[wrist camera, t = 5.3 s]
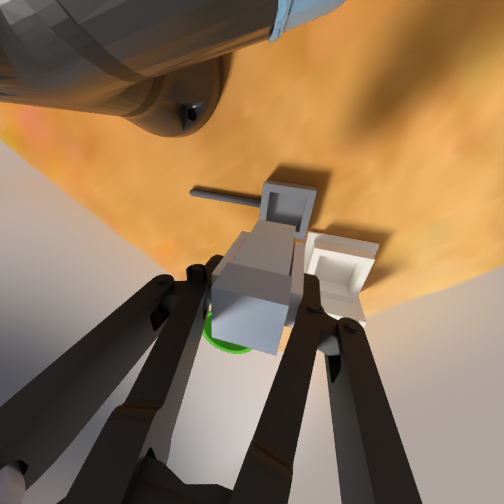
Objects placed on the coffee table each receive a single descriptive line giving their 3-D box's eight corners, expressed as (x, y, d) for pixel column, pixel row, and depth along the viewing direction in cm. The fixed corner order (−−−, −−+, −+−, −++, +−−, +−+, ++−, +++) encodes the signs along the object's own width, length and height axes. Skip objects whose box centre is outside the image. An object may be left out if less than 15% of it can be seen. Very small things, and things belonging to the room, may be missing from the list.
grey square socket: (266, 179, 29) (263, 183, 27) (316, 187, 28) (317, 191, 26) (261, 224, 33) (257, 231, 30) (304, 233, 31) (304, 240, 29)
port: (308, 230, 31) (308, 254, 25) (378, 243, 30) (397, 272, 23) (295, 281, 36) (292, 312, 30) (354, 295, 35) (364, 330, 28)
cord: (191, 188, 33) (188, 189, 32) (264, 200, 31) (262, 202, 30) (191, 194, 33) (188, 196, 32) (263, 206, 31) (262, 208, 30)
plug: (256, 217, 19) (211, 287, 10) (298, 224, 18) (288, 306, 10) (252, 252, 21) (211, 337, 12) (290, 260, 20) (276, 355, 12)
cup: (271, 273, 37) (258, 319, 27) (267, 310, 41) (255, 360, 32) (224, 265, 38) (197, 305, 29) (225, 301, 43) (202, 346, 33)
